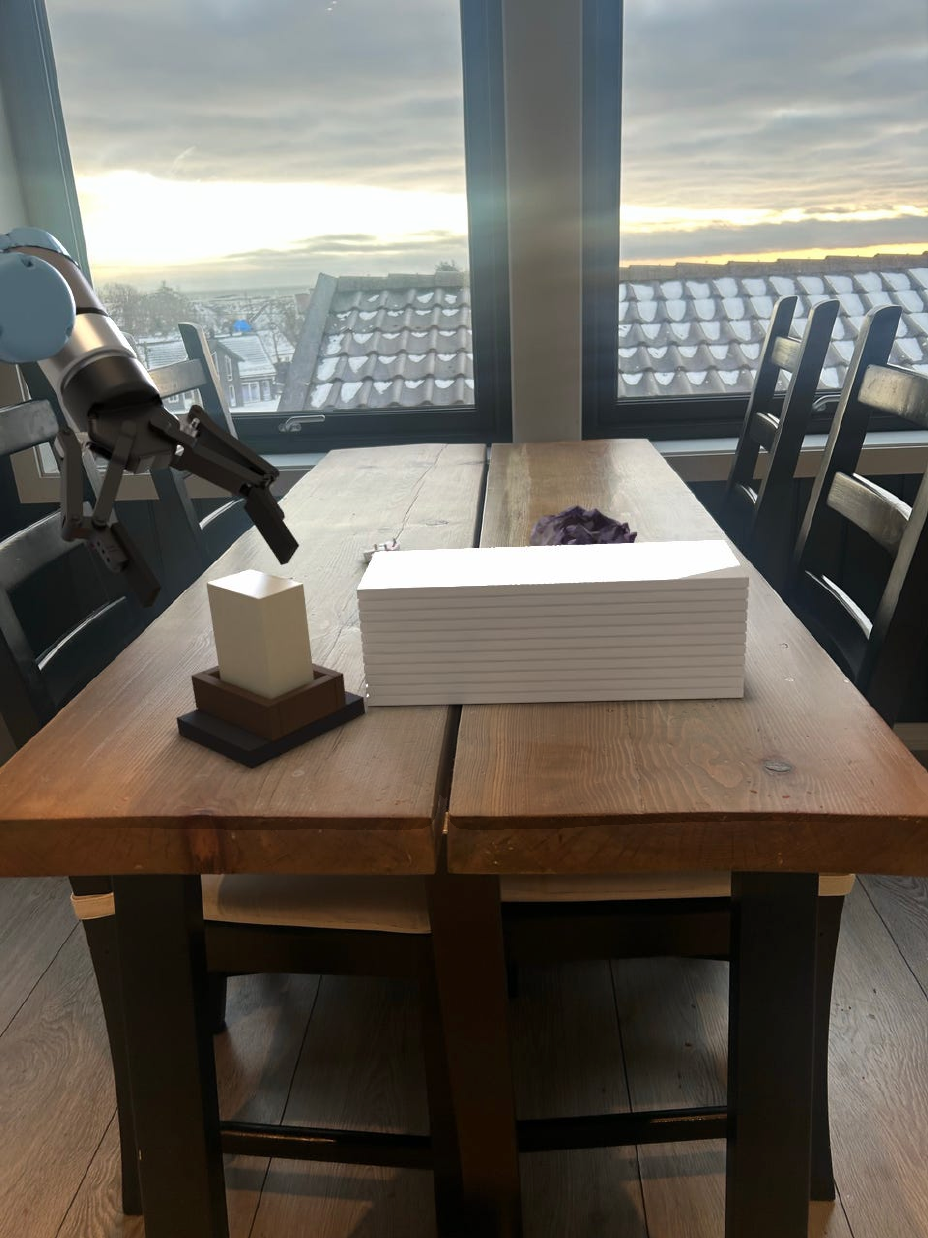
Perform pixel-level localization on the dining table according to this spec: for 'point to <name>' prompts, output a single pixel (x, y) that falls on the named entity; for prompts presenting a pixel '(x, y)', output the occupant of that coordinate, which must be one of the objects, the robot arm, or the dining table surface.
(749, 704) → the dining table surface
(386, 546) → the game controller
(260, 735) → the square socket base
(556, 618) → the stack of papers
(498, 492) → the dining table surface
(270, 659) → the cream rectangular block
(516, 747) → the dining table surface
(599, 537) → the geode
